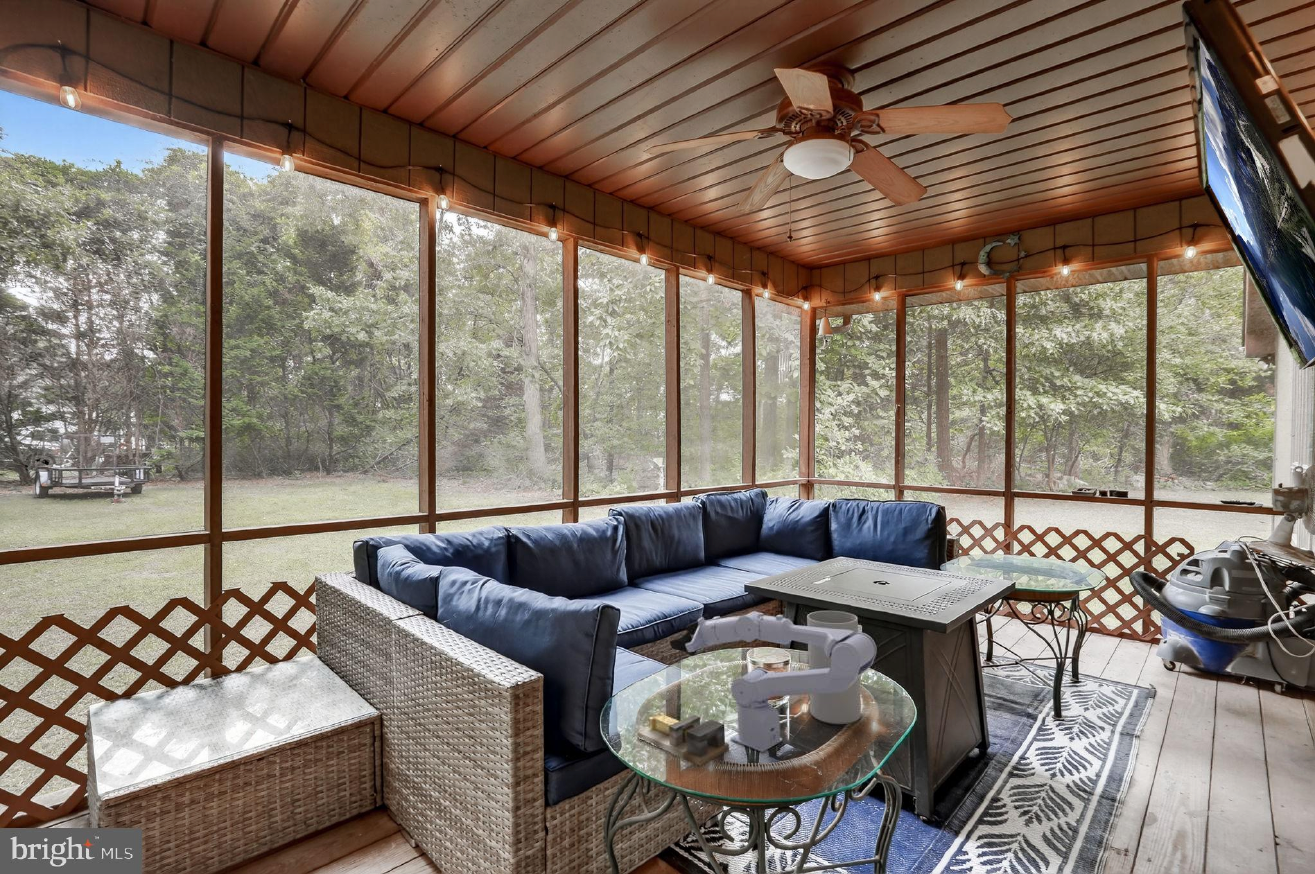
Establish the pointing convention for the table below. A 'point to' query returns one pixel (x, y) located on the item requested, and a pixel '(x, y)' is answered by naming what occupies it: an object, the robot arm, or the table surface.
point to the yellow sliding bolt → (665, 724)
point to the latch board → (690, 739)
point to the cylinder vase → (837, 704)
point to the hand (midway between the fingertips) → (679, 637)
